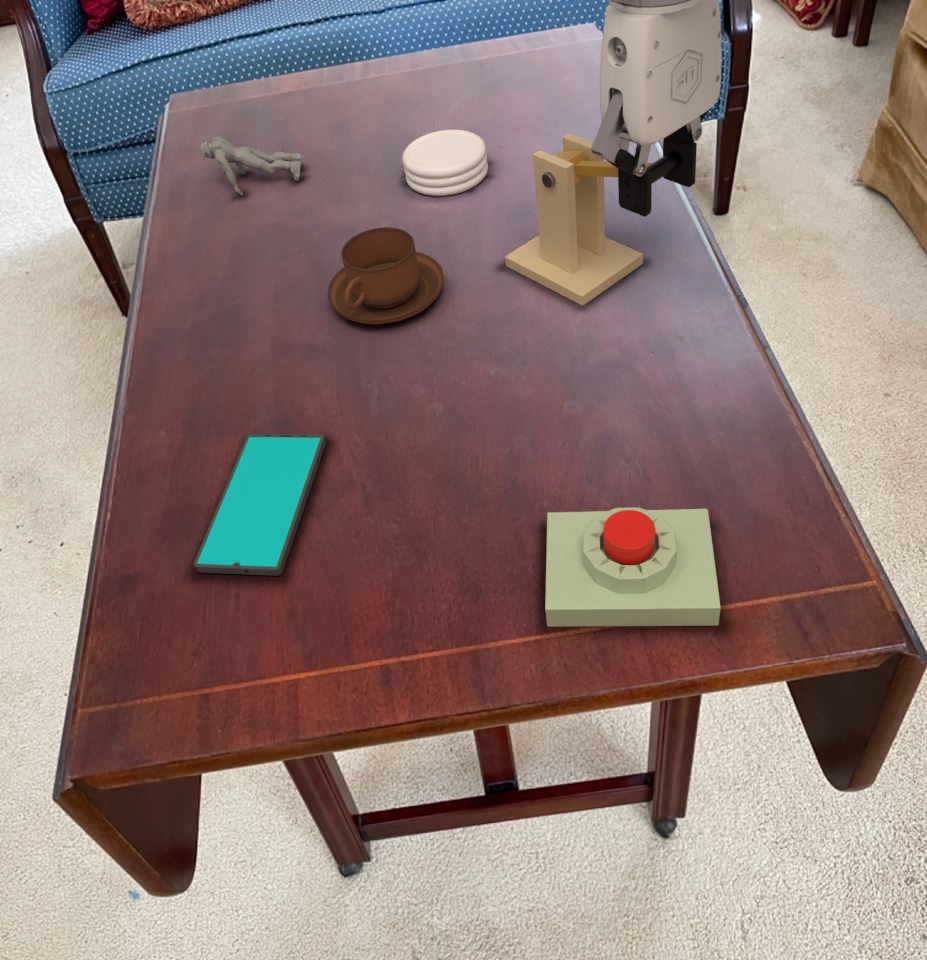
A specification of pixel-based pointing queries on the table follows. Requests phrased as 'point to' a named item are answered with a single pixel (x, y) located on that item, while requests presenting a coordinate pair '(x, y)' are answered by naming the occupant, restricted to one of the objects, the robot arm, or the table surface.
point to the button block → (631, 573)
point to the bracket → (571, 231)
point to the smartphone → (261, 505)
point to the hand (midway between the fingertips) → (657, 194)
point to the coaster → (445, 162)
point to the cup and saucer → (384, 278)
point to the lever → (607, 170)
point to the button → (629, 537)
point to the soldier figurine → (248, 159)
